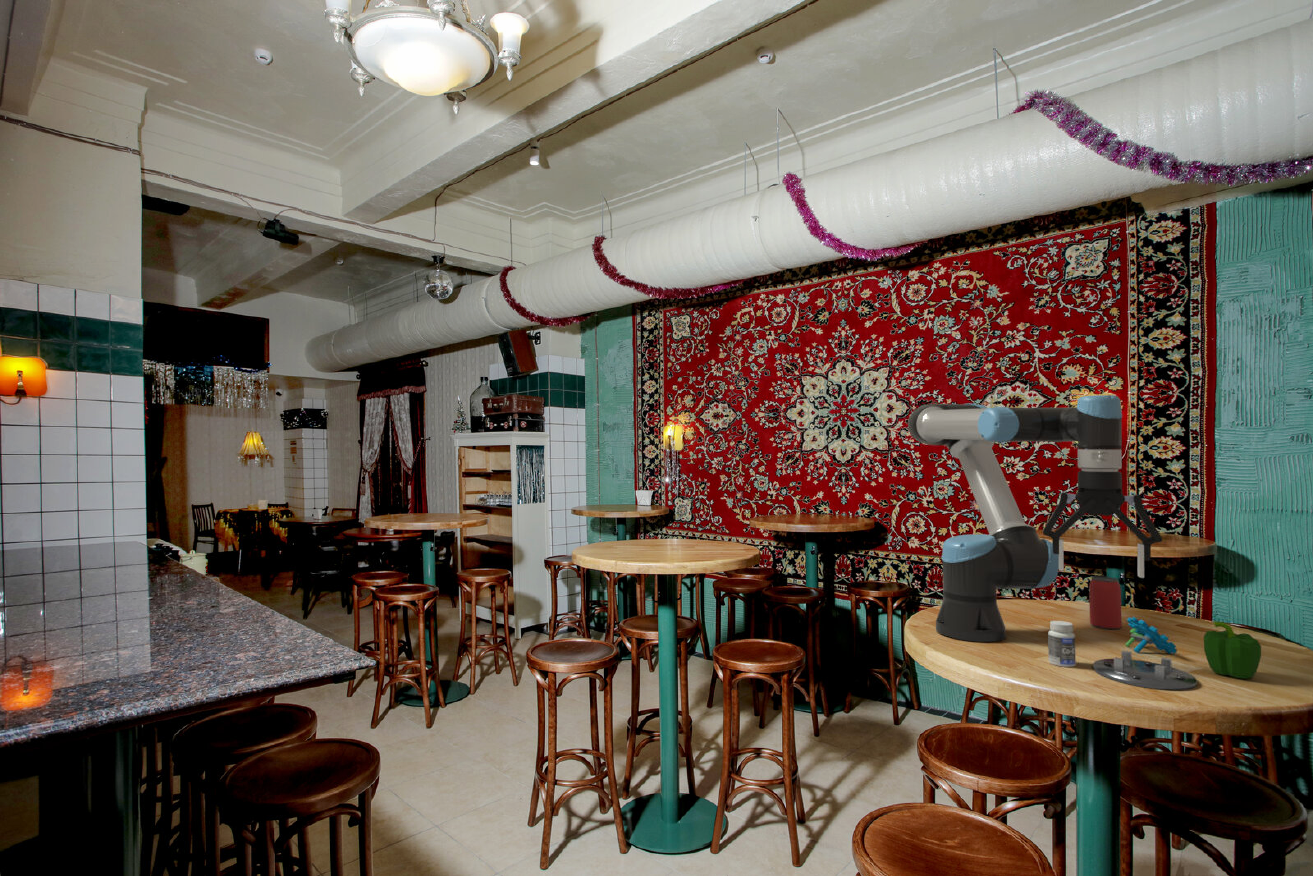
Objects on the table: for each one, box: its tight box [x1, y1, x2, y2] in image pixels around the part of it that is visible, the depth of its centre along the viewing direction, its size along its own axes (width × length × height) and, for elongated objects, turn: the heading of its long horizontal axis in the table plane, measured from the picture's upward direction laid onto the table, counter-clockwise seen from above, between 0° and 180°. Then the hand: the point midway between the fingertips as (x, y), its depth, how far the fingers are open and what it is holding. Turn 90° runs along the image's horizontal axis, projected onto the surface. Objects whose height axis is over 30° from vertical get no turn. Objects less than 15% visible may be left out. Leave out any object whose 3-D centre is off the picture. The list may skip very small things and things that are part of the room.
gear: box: [1124, 616, 1178, 655], centre depth 141 cm, size 11×6×10 cm
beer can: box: [1088, 575, 1123, 630], centre depth 163 cm, size 7×7×12 cm
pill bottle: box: [1047, 620, 1077, 668], centre depth 134 cm, size 5×5×8 cm
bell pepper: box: [1203, 621, 1262, 680], centre depth 127 cm, size 8×8×10 cm
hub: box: [1092, 650, 1198, 691], centre depth 126 cm, size 16×16×3 cm
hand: (1099, 573), depth 134 cm, fingers open, 13 cm apart
